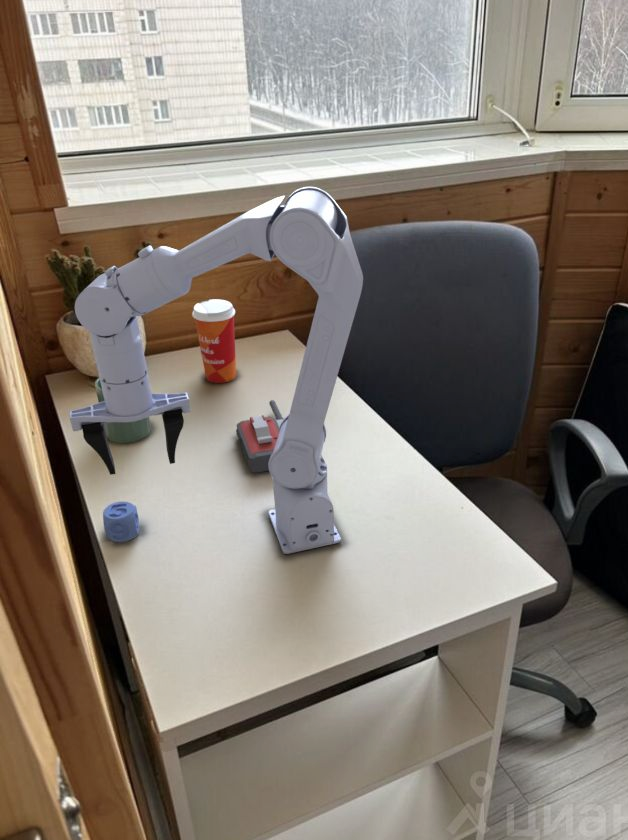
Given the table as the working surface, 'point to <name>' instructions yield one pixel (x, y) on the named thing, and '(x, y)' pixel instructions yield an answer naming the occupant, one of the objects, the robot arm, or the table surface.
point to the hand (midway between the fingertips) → (142, 465)
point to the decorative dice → (121, 521)
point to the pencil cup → (124, 425)
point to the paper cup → (216, 339)
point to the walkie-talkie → (259, 438)
